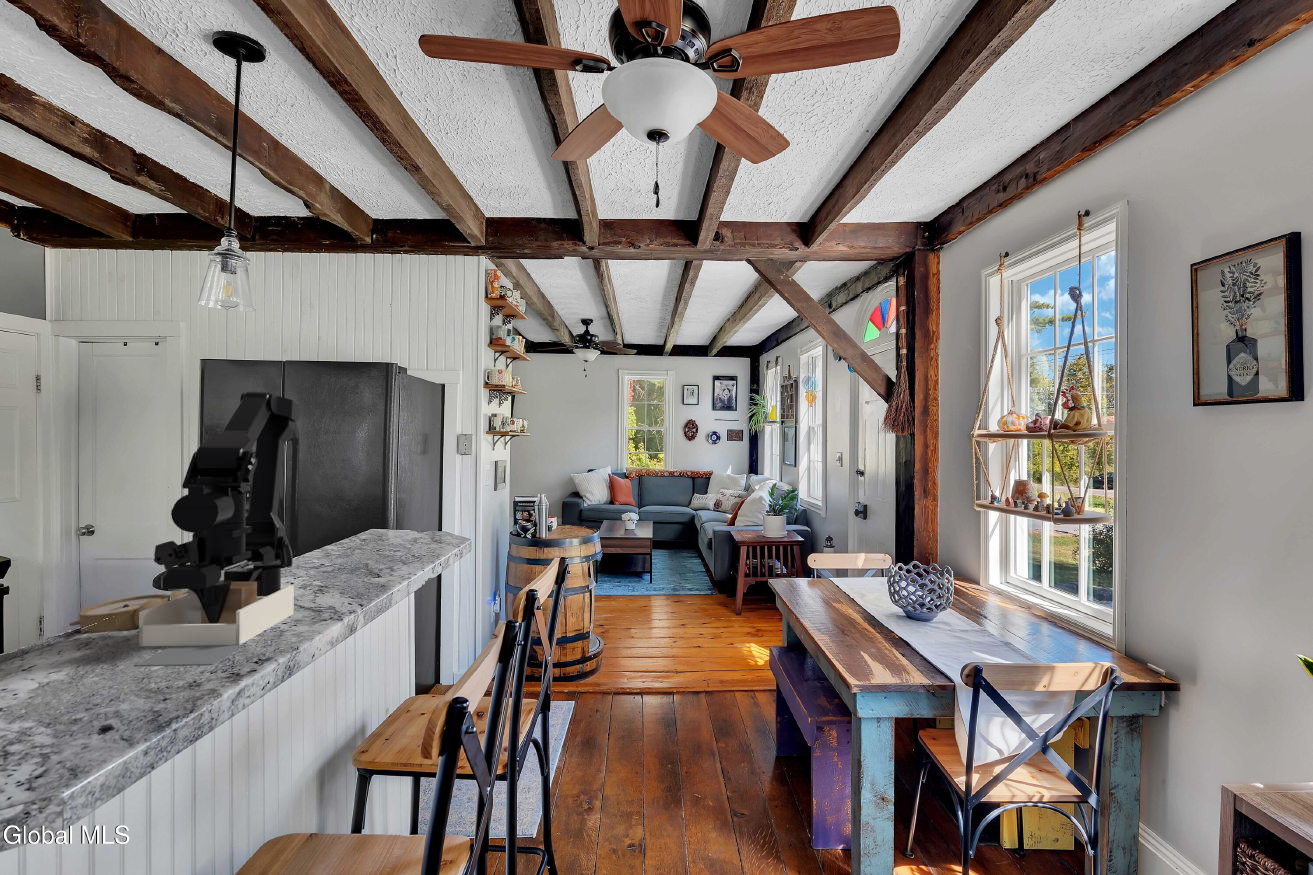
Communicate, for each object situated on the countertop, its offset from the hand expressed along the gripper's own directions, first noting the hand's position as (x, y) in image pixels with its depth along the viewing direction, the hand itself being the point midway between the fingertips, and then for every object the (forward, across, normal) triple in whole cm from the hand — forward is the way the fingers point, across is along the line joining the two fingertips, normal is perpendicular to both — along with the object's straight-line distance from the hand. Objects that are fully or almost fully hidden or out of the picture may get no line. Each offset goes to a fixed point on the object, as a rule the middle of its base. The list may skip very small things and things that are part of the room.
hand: (222, 618), depth 94 cm
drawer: (+2, 0, 0) cm, 2 cm away
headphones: (+2, -5, -16) cm, 17 cm away
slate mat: (+2, +12, +3) cm, 12 cm away
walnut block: (+2, 0, 0) cm, 2 cm away
